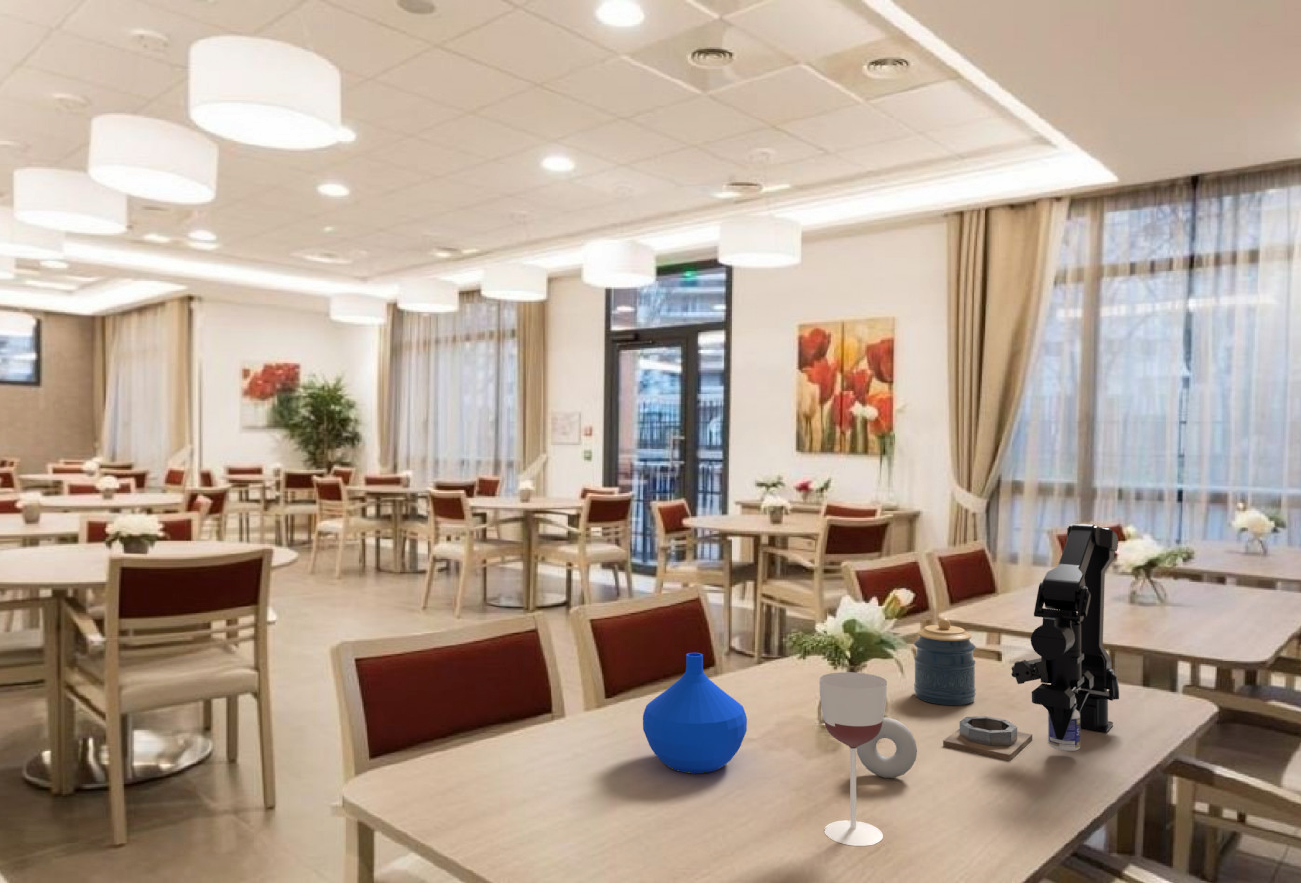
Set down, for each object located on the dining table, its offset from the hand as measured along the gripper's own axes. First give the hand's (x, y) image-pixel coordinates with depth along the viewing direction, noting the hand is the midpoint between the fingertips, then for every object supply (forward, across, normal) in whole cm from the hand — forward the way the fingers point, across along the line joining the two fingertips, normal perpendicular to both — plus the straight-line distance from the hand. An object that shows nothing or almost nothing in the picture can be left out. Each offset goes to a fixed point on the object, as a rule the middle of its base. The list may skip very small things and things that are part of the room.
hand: (1063, 734), depth 156 cm
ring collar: (+4, +1, -13) cm, 14 cm away
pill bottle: (+2, 0, 0) cm, 2 cm away
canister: (+4, -23, -30) cm, 38 cm away
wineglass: (+4, +52, -16) cm, 55 cm away
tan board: (+4, +1, -13) cm, 14 cm away
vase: (+4, +44, -50) cm, 67 cm away
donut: (+4, +29, -21) cm, 36 cm away
